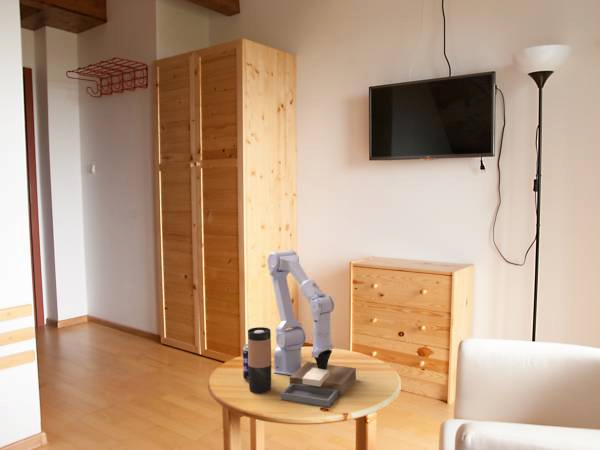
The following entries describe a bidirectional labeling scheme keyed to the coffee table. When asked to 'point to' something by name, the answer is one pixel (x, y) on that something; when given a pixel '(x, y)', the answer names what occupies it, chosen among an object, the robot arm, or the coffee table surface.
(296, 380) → the brown wooden block
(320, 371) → the tile back
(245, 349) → the beverage can
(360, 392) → the coffee table surface
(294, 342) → the robot arm
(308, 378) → the tile front
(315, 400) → the box
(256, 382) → the travel mug
